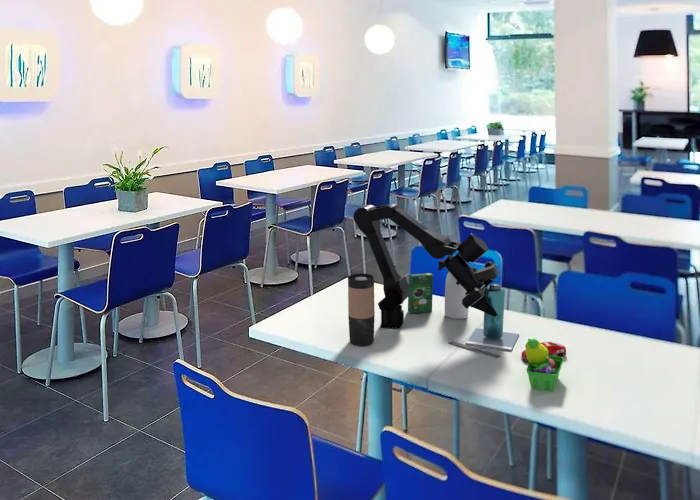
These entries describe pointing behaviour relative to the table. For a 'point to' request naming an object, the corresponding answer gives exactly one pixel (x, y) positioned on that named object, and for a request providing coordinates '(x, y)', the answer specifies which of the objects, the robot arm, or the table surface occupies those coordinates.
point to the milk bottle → (454, 299)
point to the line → (474, 349)
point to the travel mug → (361, 309)
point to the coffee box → (420, 293)
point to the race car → (550, 350)
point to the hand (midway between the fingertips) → (498, 312)
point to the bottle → (495, 324)
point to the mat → (493, 340)
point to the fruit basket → (542, 366)
